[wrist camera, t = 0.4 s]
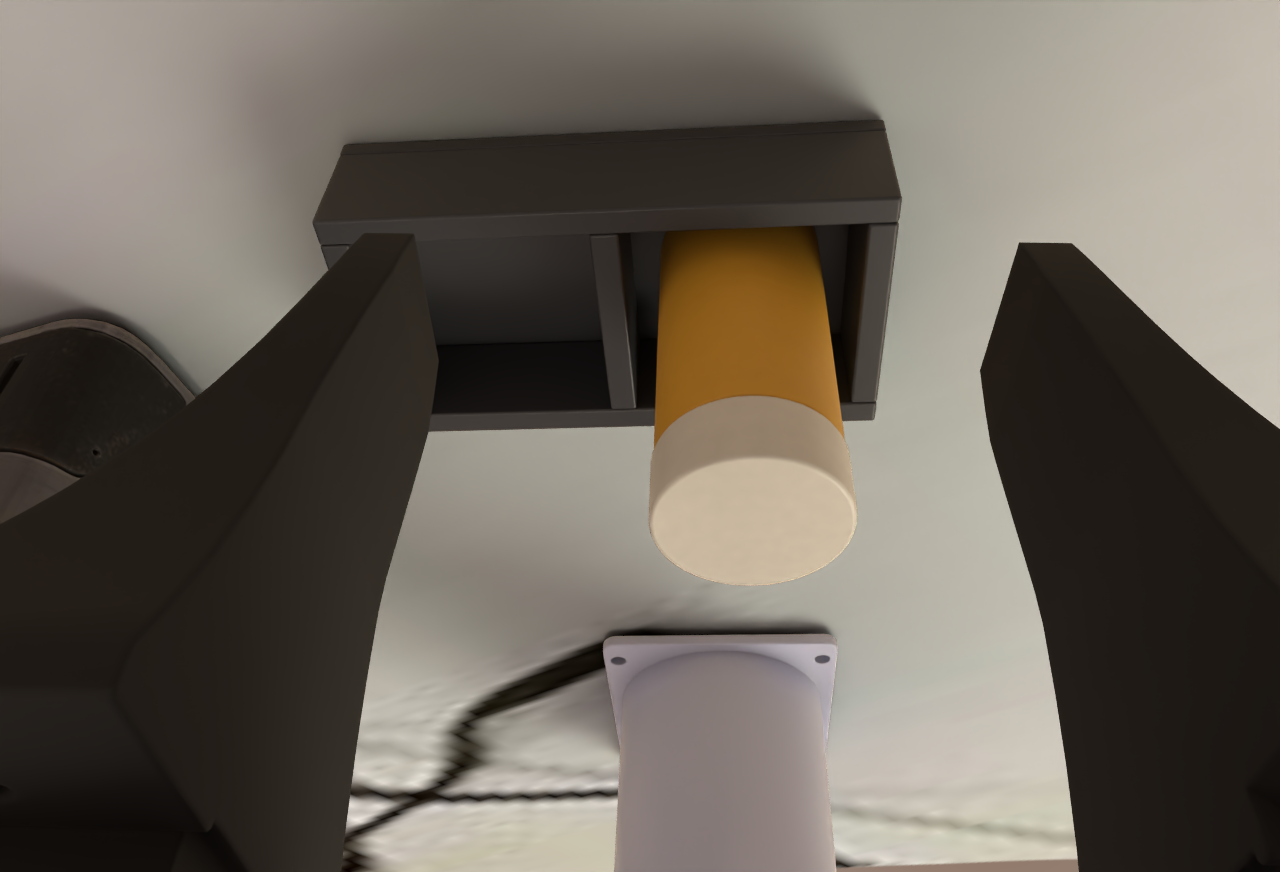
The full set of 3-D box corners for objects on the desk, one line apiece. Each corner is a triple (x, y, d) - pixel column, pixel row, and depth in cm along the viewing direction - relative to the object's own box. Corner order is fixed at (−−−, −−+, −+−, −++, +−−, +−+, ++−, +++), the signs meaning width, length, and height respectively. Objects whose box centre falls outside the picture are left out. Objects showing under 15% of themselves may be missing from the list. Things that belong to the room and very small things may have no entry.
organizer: (861, 339, 27) (874, 421, 25) (407, 353, 27) (385, 433, 25) (884, 118, 22) (902, 197, 20) (343, 144, 23) (310, 221, 21)
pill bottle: (816, 314, 26) (850, 586, 20) (662, 319, 26) (655, 589, 20) (824, 181, 23) (865, 453, 17) (653, 188, 23) (641, 458, 18)
